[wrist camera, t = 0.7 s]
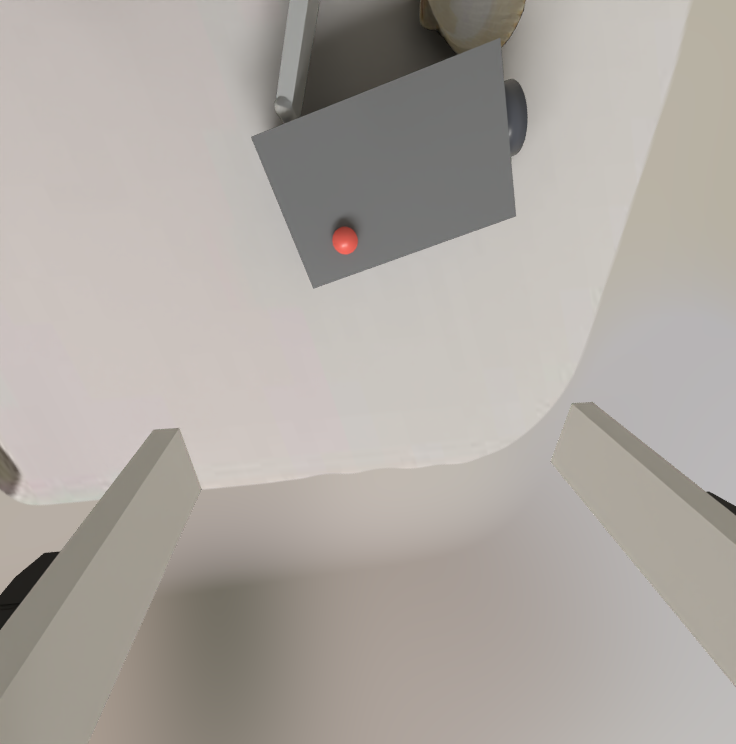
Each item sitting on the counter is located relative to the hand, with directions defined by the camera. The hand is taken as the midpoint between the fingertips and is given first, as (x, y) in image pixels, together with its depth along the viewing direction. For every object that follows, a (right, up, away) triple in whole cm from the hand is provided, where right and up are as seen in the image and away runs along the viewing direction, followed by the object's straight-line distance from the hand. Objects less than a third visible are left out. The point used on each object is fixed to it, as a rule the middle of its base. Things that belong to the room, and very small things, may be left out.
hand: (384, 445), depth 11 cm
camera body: (+2, +19, +17) cm, 26 cm away
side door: (-5, +26, +11) cm, 29 cm away
